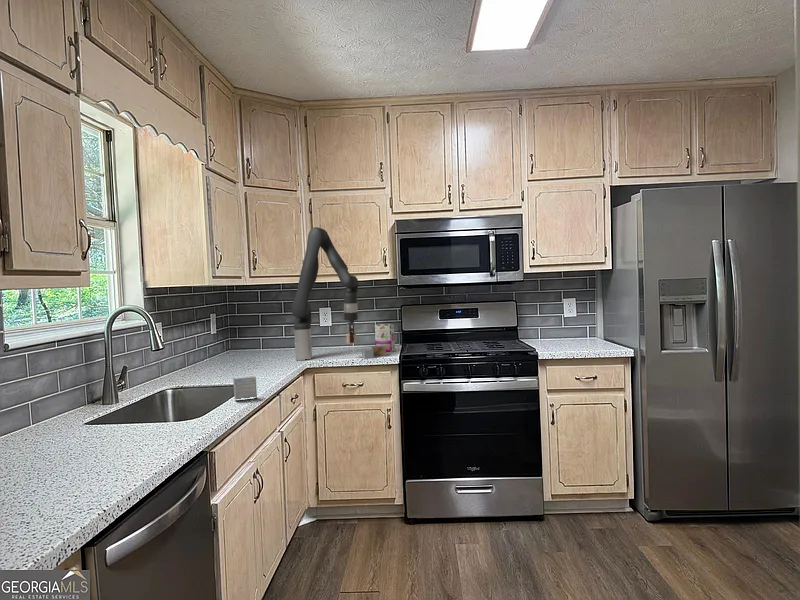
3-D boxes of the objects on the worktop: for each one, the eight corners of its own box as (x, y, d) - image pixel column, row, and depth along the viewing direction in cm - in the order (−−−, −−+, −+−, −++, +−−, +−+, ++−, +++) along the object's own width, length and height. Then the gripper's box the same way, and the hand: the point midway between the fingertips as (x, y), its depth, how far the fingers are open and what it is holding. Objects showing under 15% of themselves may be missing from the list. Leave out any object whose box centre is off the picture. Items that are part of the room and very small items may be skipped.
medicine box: (255, 397, 212) (254, 375, 212) (257, 399, 208) (256, 376, 207) (234, 399, 209) (233, 377, 208) (235, 402, 205) (234, 379, 204)
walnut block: (373, 357, 308) (372, 348, 307) (372, 355, 315) (372, 346, 314) (385, 356, 308) (385, 347, 308) (384, 354, 315) (384, 346, 315)
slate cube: (364, 359, 300) (364, 350, 300) (362, 358, 305) (362, 349, 305) (373, 358, 302) (373, 349, 302) (371, 357, 307) (370, 348, 306)
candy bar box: (395, 351, 328) (394, 323, 327) (391, 352, 323) (390, 324, 323) (379, 350, 333) (378, 323, 332) (375, 351, 329) (374, 324, 328)
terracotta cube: (347, 343, 301) (347, 334, 301) (346, 342, 306) (346, 333, 306) (356, 343, 302) (356, 334, 301) (355, 342, 307) (355, 333, 306)
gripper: (343, 310, 309) (343, 340, 310) (344, 312, 295) (345, 343, 296) (356, 310, 311) (357, 340, 311) (358, 312, 296) (359, 343, 297)
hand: (351, 342), depth 304 cm, fingers closed on terracotta cube, 5 cm apart
